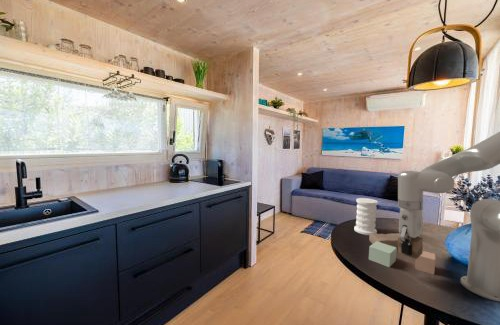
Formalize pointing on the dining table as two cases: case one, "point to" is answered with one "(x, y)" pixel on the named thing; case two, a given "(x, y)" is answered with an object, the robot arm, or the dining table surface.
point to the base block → (382, 253)
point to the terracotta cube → (425, 262)
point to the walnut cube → (413, 246)
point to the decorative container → (366, 216)
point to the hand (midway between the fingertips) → (410, 250)
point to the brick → (385, 239)
